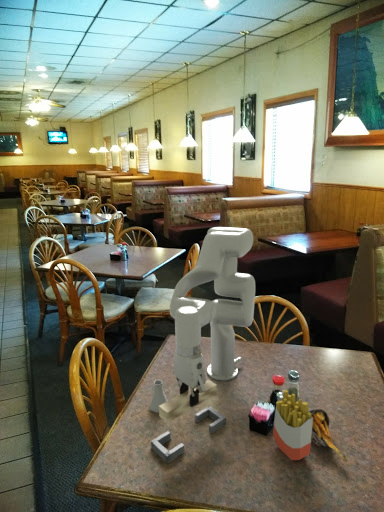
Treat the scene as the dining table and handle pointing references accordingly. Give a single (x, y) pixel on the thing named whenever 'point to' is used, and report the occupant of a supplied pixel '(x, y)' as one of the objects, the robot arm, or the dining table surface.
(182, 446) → the end cap
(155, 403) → the flask
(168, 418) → the birch slat
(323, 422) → the fried food
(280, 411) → the french fries container
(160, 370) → the dining table surface
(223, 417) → the end cap
